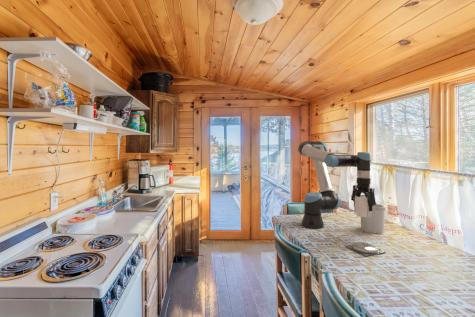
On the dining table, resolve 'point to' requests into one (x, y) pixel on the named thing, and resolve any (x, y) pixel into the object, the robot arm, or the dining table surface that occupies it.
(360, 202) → the cup
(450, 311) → the dining table surface
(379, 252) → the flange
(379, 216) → the utensil holder
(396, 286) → the dining table surface
